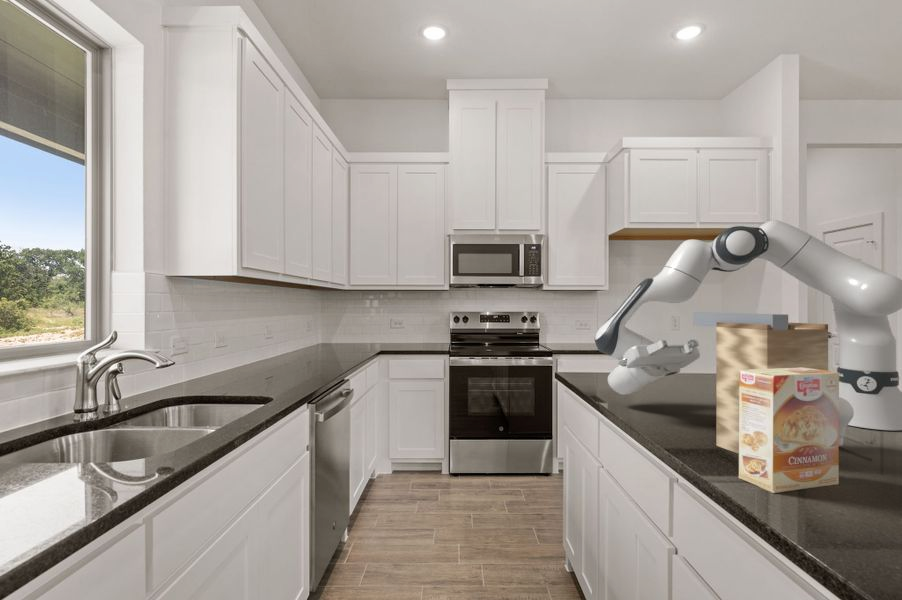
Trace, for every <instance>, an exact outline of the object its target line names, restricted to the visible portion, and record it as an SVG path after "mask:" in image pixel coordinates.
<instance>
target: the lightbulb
mask: <svg viewBox="0 0 902 600" xmlns="http://www.w3.org/2000/svg"><path fill="white" fill-rule="evenodd" d="M853 415H854V410H853V407H852V406H851V404H850V403H849V402H848V401H846V400H845V399H843V398H840V397H839V447H841V446H843V445H844V437H845V435H846V428H847V427H848V426H849V425H848V424H849V422H850V421H851V419H852V418H853Z"/></svg>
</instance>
